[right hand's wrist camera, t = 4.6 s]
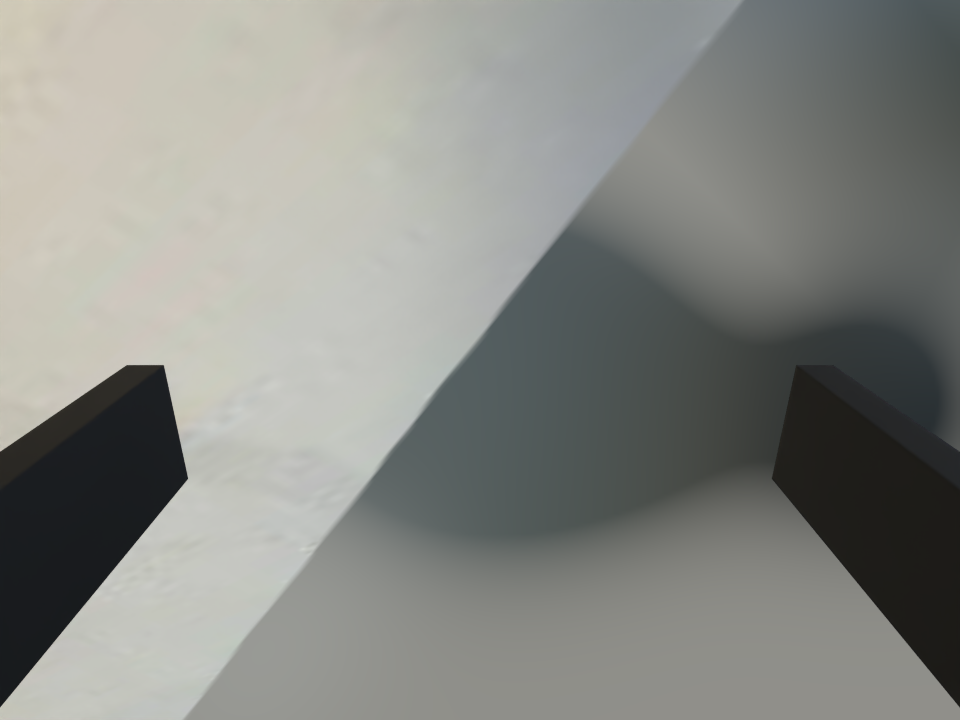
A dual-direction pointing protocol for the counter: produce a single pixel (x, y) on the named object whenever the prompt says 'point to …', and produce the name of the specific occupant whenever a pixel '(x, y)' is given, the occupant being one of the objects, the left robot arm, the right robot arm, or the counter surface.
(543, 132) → the counter surface
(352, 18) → the counter surface
